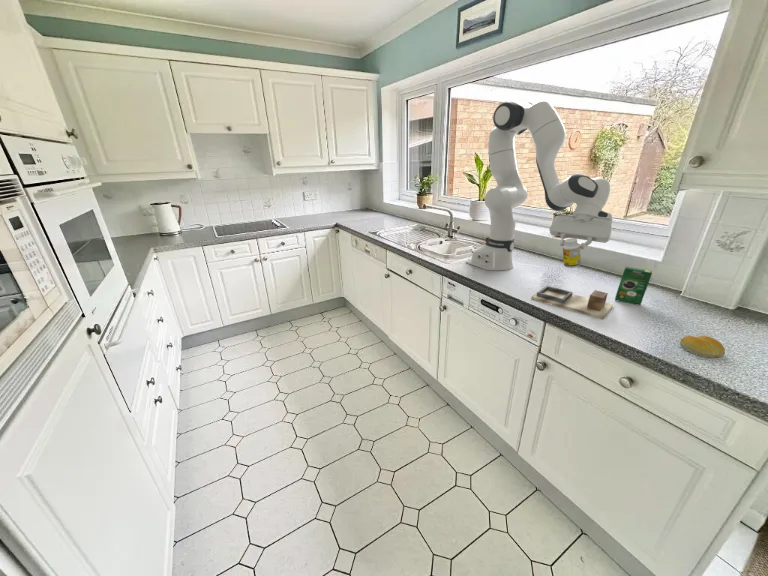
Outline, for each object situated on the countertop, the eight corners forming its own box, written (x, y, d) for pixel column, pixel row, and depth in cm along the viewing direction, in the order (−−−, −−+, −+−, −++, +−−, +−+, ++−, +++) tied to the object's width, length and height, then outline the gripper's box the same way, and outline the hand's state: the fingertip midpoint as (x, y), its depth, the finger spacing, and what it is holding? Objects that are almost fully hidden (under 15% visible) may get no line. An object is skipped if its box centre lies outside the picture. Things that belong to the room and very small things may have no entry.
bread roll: (672, 342, 94) (676, 330, 92) (705, 343, 93) (710, 331, 91) (693, 358, 86) (699, 346, 85) (730, 360, 85) (736, 347, 84)
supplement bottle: (562, 264, 124) (561, 239, 121) (579, 262, 122) (578, 236, 119) (565, 269, 120) (563, 243, 116) (582, 267, 117) (581, 240, 114)
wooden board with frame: (531, 298, 123) (533, 284, 120) (544, 289, 131) (546, 275, 129) (602, 319, 107) (607, 303, 104) (612, 306, 115) (617, 291, 113)
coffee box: (641, 303, 117) (652, 269, 112) (641, 306, 115) (652, 272, 110) (615, 298, 122) (624, 265, 117) (614, 300, 120) (624, 268, 115)
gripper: (555, 209, 126) (542, 237, 124) (617, 214, 113) (603, 247, 110) (557, 218, 131) (544, 246, 128) (616, 225, 118) (603, 256, 115)
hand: (572, 246), depth 119 cm, fingers closed on supplement bottle, 5 cm apart
